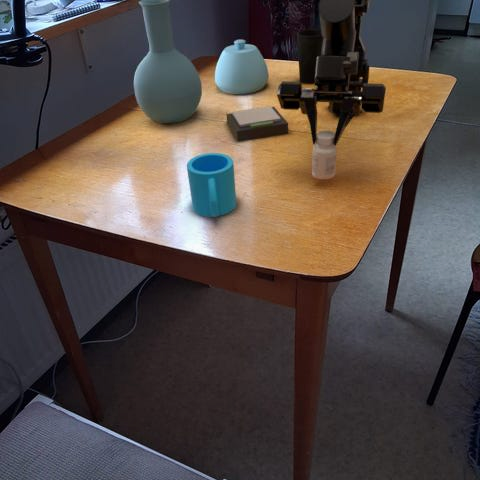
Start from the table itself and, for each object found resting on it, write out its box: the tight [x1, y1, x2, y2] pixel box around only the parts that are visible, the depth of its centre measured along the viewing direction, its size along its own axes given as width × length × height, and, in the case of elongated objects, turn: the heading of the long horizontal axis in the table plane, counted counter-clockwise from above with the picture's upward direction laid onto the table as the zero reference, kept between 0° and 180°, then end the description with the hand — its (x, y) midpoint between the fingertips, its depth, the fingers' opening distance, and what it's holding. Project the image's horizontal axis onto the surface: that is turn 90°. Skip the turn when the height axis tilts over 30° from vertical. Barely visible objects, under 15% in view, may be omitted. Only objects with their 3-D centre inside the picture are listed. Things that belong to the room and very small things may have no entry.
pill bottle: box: [311, 130, 338, 180], centre depth 89 cm, size 4×4×8 cm
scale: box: [225, 105, 289, 142], centre depth 113 cm, size 12×11×3 cm
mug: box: [186, 152, 237, 218], centre depth 85 cm, size 12×8×8 cm
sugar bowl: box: [214, 39, 270, 95], centre depth 132 cm, size 15×15×12 cm
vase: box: [133, 0, 203, 124], centre depth 114 cm, size 16×16×25 cm
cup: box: [296, 28, 323, 85], centre depth 132 cm, size 8×8×12 cm
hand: (324, 144), depth 86 cm, fingers closed on pill bottle, 3 cm apart
